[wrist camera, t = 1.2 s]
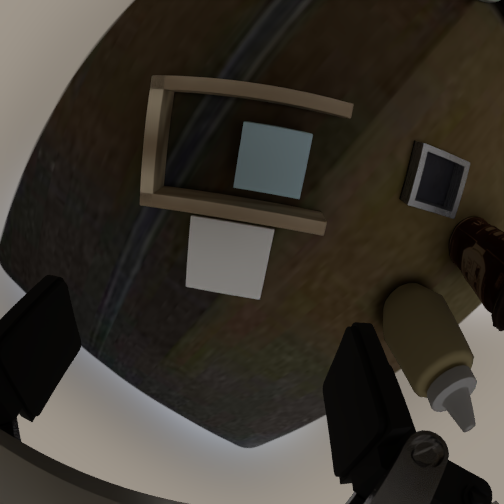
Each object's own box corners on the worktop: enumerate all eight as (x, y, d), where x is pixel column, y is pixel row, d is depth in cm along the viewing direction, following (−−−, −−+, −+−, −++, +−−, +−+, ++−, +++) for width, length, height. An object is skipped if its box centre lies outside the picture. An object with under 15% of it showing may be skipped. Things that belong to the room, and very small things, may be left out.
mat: (191, 214, 28) (190, 215, 28) (274, 228, 28) (274, 229, 28) (186, 285, 32) (185, 286, 31) (259, 298, 32) (259, 299, 32)
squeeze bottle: (390, 267, 29) (468, 399, 13) (444, 279, 30) (525, 389, 13) (363, 325, 33) (405, 459, 17) (416, 332, 33) (468, 447, 17)
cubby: (164, 79, 23) (152, 75, 20) (344, 105, 23) (353, 104, 20) (151, 196, 28) (139, 205, 25) (318, 223, 28) (323, 235, 25)
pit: (414, 140, 24) (423, 143, 22) (459, 159, 24) (470, 162, 22) (399, 198, 26) (407, 204, 24) (444, 212, 26) (454, 219, 24)
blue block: (248, 121, 24) (243, 121, 20) (304, 131, 24) (313, 134, 20) (239, 175, 26) (233, 187, 22) (294, 184, 27) (299, 199, 22)
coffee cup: (453, 287, 30) (506, 358, 18) (428, 240, 28) (495, 310, 16) (499, 244, 27) (563, 299, 15) (480, 192, 25) (559, 239, 13)
